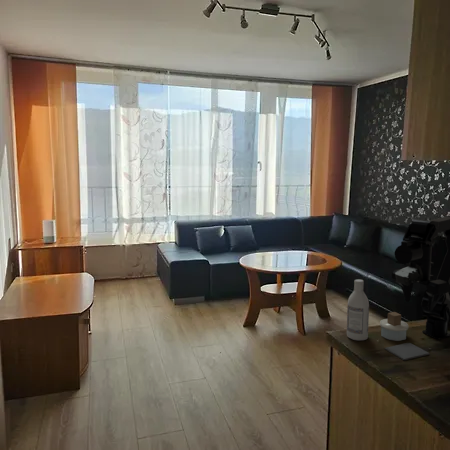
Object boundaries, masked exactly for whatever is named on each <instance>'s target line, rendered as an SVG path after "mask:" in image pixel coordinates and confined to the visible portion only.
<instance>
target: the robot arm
mask: <svg viewBox="0 0 450 450" xmlns="http://www.w3.org/2000/svg"><path fill="white" fill-rule="evenodd" d="M442 232H443V234H444V236H445V241H444V242H445V244H446V248H447V251H446V254H445V256H444V258H443V261H442V264H441V266H440V270H439V272H438V274H437V277H436V280H434V275H433V274H431V273H432V271H431V269H432V267H434V266H435V262H432V255H433V254H432V253H433V245H435V244H436V241H435V240H434V239H435V238H436V237H438V236H439V233H442ZM393 254H394V257H395V259H396V261H397V262H398V263H400V264H402V265H406V267H403V268H401V269H400V268H399V269H394V270H393V271H392V272H391V279H393V280H394V282H395V283H397V284H399V286H400V288H401V291H402V294H403V296H404V301H405V302H406V303H408V302H410V300H411V297H412V293H413V288H414V284H416V283H418V284H422V285H423V286H425V287H426V290H425V292H424V295H423V296H422V299H421V302H420V309H421V316H425V317H426V321H425V329H424V330H422V333H423V334H426V335H427V336H430V337H432V338H434V339H436V340H442V339H446V338H449V337H450V333H448V328H449V327H448V326H449V325H448V324H449V323H450V215H445V216H444V217H439V218H434V219H430V220H429V219H421V218H420V219H419V218H413V219H412V220H411V221H410V223H409V225H408V226H407V228H406V231H405V233H404V235H403V237H402V241H401V242H400V245H398V246H397V247H396V248H395V250H394V253H393ZM432 279H433V280H432Z"/></svg>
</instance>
